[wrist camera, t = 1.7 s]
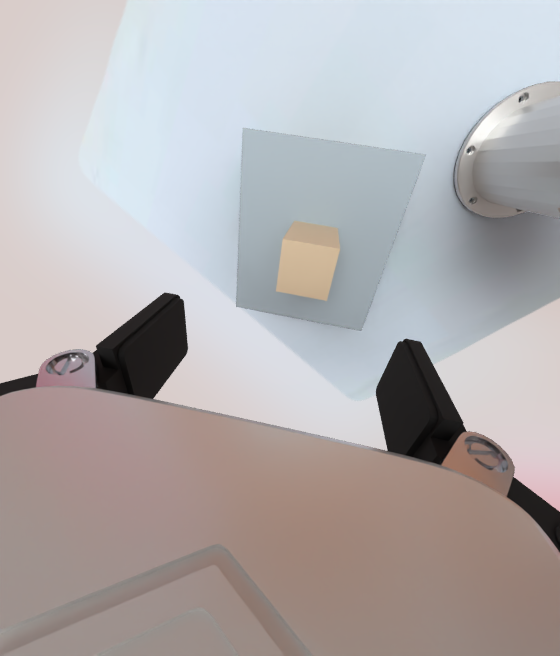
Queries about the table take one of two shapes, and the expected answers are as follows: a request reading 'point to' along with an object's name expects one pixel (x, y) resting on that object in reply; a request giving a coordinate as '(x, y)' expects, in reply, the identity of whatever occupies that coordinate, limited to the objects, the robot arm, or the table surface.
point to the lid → (318, 224)
